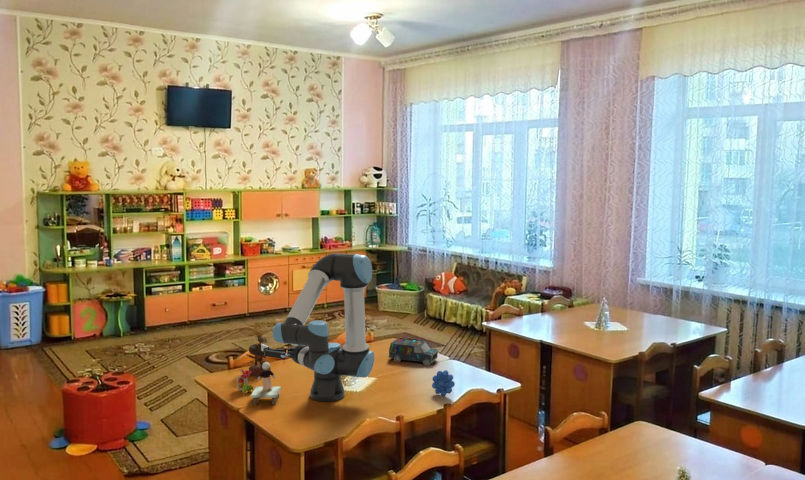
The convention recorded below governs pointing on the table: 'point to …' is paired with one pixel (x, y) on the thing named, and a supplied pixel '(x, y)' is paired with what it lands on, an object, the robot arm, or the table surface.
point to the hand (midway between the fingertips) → (276, 343)
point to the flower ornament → (244, 382)
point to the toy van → (412, 351)
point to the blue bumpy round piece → (443, 383)
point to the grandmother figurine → (266, 377)
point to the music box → (257, 357)
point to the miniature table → (266, 394)
